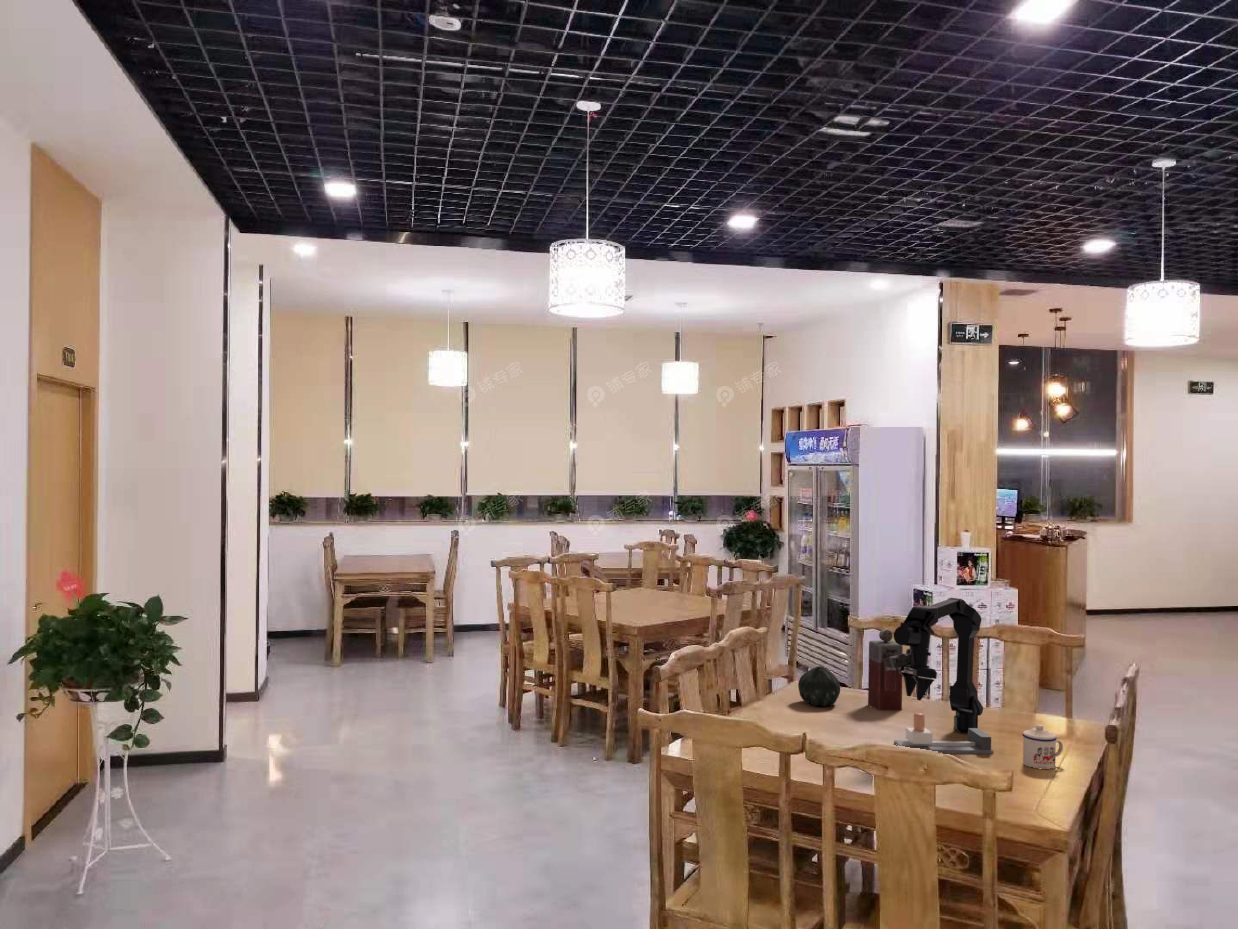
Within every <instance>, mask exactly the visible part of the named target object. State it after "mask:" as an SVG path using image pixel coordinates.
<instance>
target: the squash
mask: <svg viewBox="0 0 1238 929" xmlns="http://www.w3.org/2000/svg"><path fill="white" fill-rule="evenodd" d="M797 687H798V692H799V696H800V698H801V699H802V700H803V701H804V702H807V703H808V704H812V705H813V706H815V707H819V706H820V707H822V706H824V707H826V706H828V705H830V706H833V705H835V703H836V702H837V700H838V698H839V696H840V692H841V685H840V681H839V680H838V678H837V677H836V675H835V674H834V673H833V672H831V670H829V669H827V668H825V667H824V666H821V665H818V666H814V667H813V668H811V669H809V670H808V671H805V672H804V673H803V674H802V675H801V676H800V678H799V680H798V684H797Z"/></svg>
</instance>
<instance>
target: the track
mask: <svg viewBox="0 0 1238 929" xmlns="http://www.w3.org/2000/svg"><path fill="white" fill-rule="evenodd" d="M893 744H894V745H895V744H897V745H899V746H905V747H910V748H920V749H926V750H932V751H938V752H942V753H941V754H968V755H969V754H971V755H973V754H978V755H979V754H983V755H985V754H988V755H989V754H990V755H991V754H992V755H993V754H994V750H993V749H992V736H990V735H989V734H988V733H986V732H984V731H982V730H981V729H980V728H979V727H978V728H968V733H967V740H932V744H912V743H911V742H910V741H909V740H908V739H906V740H905V739H903V740H901V739H900V740H894V741H893Z"/></svg>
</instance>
